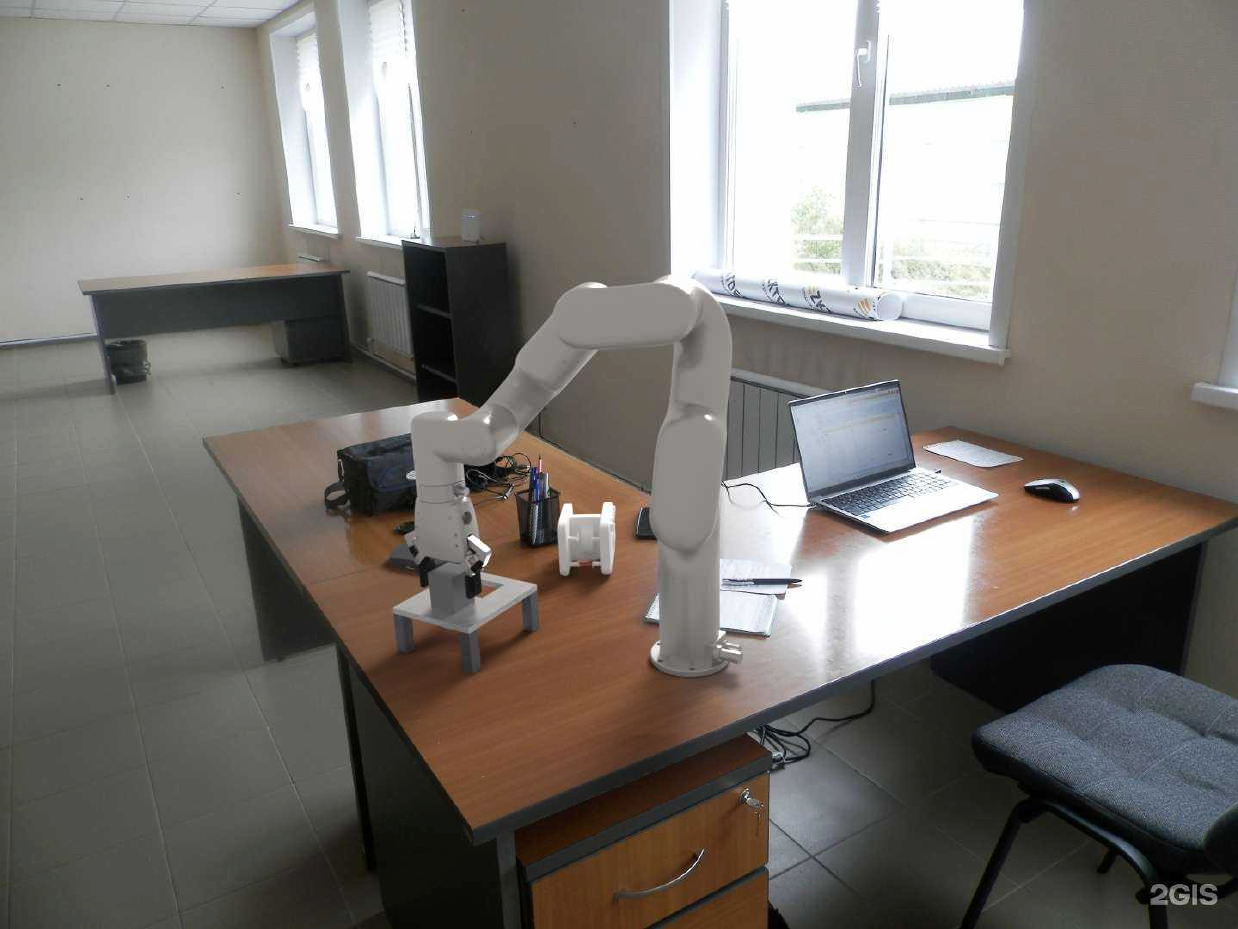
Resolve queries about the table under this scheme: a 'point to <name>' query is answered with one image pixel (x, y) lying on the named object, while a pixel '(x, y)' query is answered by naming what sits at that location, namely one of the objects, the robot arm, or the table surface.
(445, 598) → the peg
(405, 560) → the media streaming box
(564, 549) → the cable organizer
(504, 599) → the miniature table
